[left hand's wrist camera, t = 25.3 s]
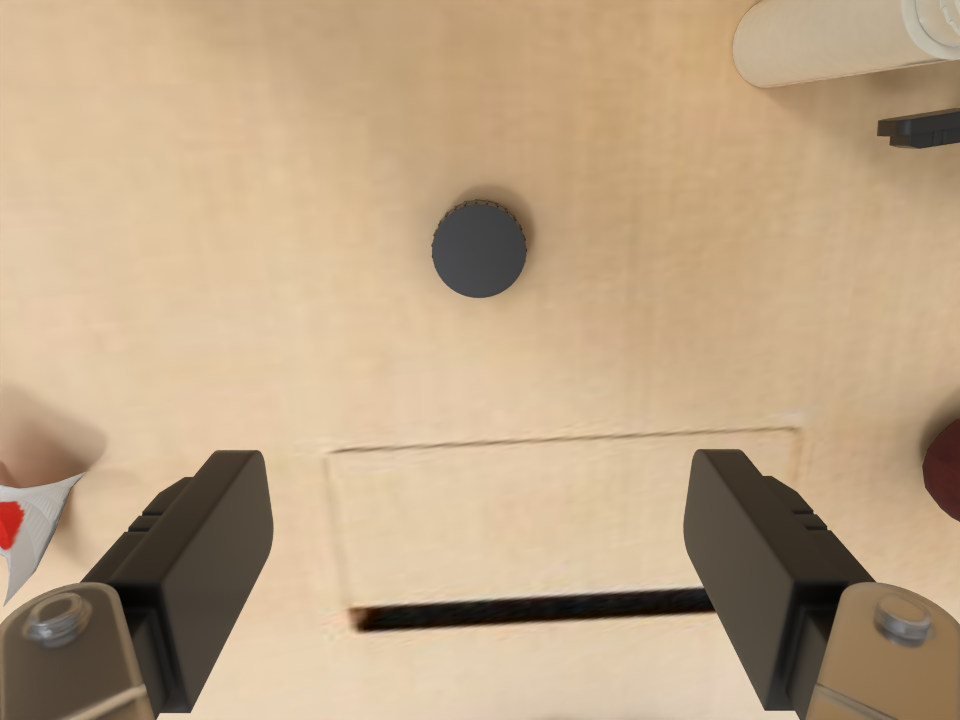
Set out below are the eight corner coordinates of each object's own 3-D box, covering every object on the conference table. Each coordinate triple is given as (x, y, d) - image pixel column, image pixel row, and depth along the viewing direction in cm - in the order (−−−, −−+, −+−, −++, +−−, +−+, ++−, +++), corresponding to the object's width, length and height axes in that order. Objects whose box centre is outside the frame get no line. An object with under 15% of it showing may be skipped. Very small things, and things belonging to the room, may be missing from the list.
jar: (716, 66, 33) (911, 13, 18) (761, -20, 31) (1012, -155, 17) (785, 101, 33) (1028, 78, 19) (832, 19, 32) (1135, -79, 17)
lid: (542, 255, 36) (546, 261, 34) (470, 308, 38) (470, 317, 36) (488, 179, 35) (489, 182, 33) (415, 237, 36) (411, 243, 34)
